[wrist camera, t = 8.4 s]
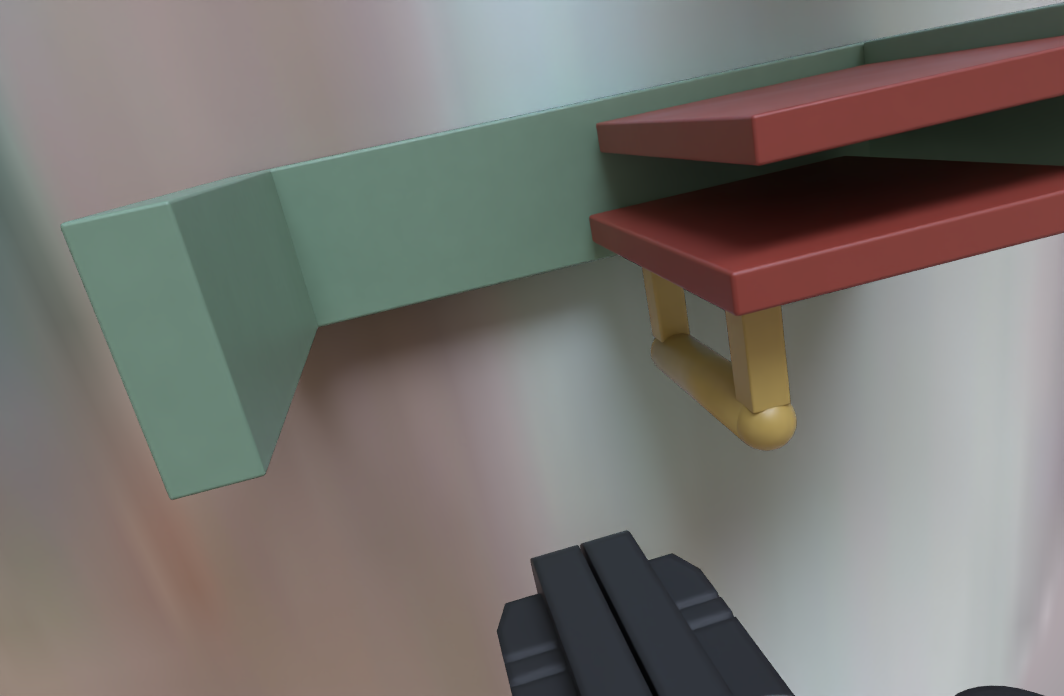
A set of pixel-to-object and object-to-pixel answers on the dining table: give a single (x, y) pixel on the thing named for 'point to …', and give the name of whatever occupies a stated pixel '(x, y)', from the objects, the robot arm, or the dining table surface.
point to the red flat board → (808, 258)
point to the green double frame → (505, 212)
